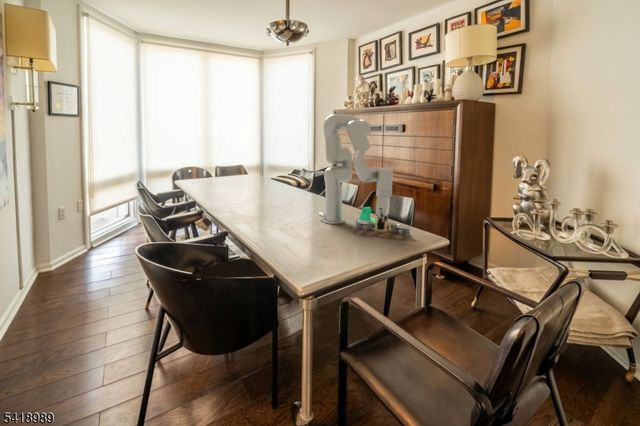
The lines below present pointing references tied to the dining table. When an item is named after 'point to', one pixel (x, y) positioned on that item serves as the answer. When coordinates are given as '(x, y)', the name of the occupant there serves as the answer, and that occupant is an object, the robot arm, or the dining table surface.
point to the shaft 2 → (397, 227)
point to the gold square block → (386, 226)
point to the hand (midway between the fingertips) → (382, 227)
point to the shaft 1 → (364, 224)
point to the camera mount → (366, 214)
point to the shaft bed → (379, 234)
